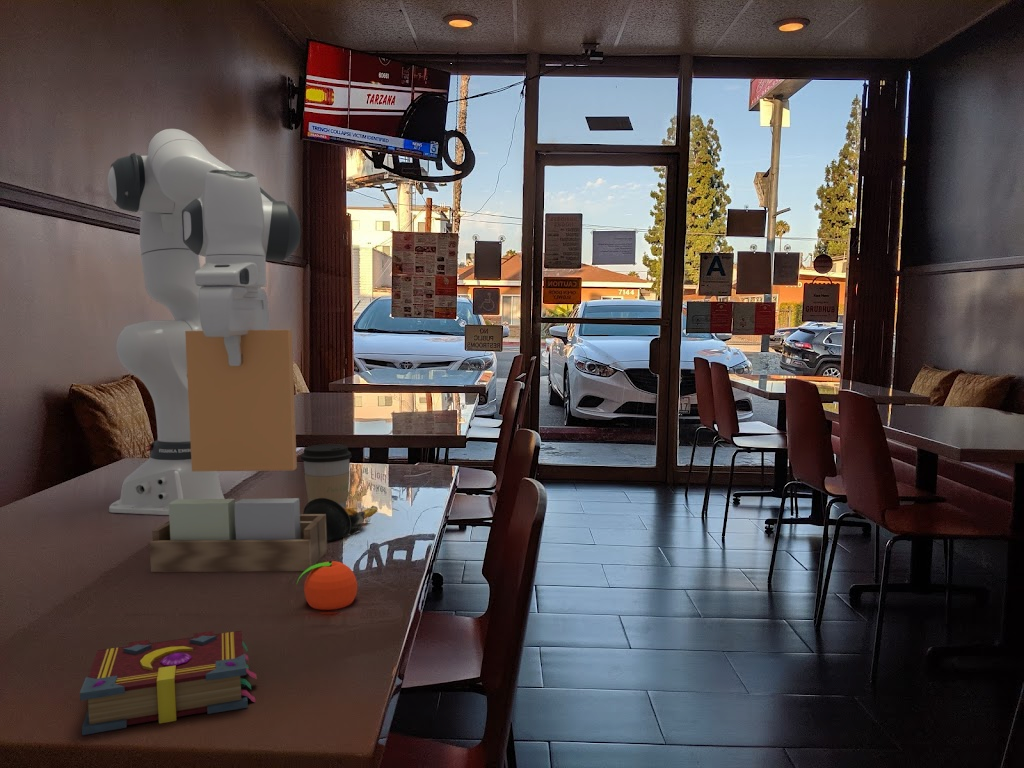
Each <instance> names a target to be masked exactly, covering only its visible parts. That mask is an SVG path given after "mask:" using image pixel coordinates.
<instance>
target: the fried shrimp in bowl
mask: <svg viewBox="0 0 1024 768" xmlns="http://www.w3.org/2000/svg"><path fill="white" fill-rule="evenodd" d="M377 512H378V507H377V506H376V505H372V506H371V507H368V508H366V509H364V510H362V511H359V512H358V511H357V510H356V509H354V507H349V508H347V507H346V508H344V507H342V506H341V505H340V504H339V503H337V502H335V501H333V500H331V499H327V498H318V499H314V500H312V501H310V502H309V503H308V502H307V504H306V505H305V506H304V509H303V513H302V514H326V531H327V543H329V542H334V541H337V540H339V539H342V538H343V537H347V536H353V535H355V534H356V533H360V532H361V530H360V528H361V526H362V525H363V523H364V521H365V519H367V518H371V517H373V515H374V514H376V513H377Z"/></svg>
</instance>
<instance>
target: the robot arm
mask: <svg viewBox="0 0 1024 768" xmlns="http://www.w3.org/2000/svg"><path fill="white" fill-rule="evenodd" d="M107 188H108V192H109V195H110V196H111V198H112V200H113V203H114V204H115V205H116V206H117V207H118V209H120V210H123V211H127V212H132V213H133V212H134V213H137V212H141V215H140V223H139V224H140V225H139V246H140V248H139V249H140V257H141V264H142V272H143V280H144V286H145V287H144V288H145V291H146V293H147V294H148V295H149V297H150V298H152V299H153V300H154V301H156V302H157V303H160V304H162V305H163V306H164V307H166V308H167V310H169V311H170V313H171V314H172V317H173V319H174V320H172V319H171V320H169V319H168V320H166V319H165V320H146V321H141V322H137V323H133V324H129V325H126V326H125V327H124V328H123V329H122V330H121V332H120V334H119V335H118V337H117V341H116V346H115V347H116V355H117V358H118V360H119V362H120V363H121V366H123V368H124V369H126V371H128V372H129V373H131V374H132V375H134V376H136V378H138V379H139V380H140V381H141V383H143V385H144V386H145V388H146V389H147V391H148V393H149V394H150V396H151V399H152V402H153V406H154V411H155V420H156V421H155V422H156V431H157V432H156V434H157V439H156V440H154V441H153V442H151V443H150V444H148V445H146V446H145V448H146V449H145V451H146V452H149V458H148V459H147V460H146V461H144V462H143V463H142V464H141V465H140V466H138V467H137V468H136V469H134V471H133V472H131V473H130V474H128V475H127V476H126V477H125V478H124V480H123V483H122V486H121V491H120V498H119V499H117V500H115V501H114V502H112V503H111V504H110V505H109V509H108V511H109V513H116V514H135V515H136V514H137V515H138V514H139V515H140V514H141V515H159V516H169V503H171V502H173V501H175V500H177V499H226V498H225V496H224V493H223V491H222V490H223V489H222V487H221V483H220V478H219V477H220V476H219V471H192V462H191V441H190V420H189V399H188V378H187V358H186V337H185V331H203V333H204V335H205V336H206V337H224V344H225V347H226V350H227V353H228V359H229V365H230V366H239V365H242V364H243V354H241V349H240V343H241V335H247V334H248V330H270V324H271V323H270V313H269V311H270V310H269V304H268V303H269V302H268V296H267V292H266V291H265V289H264V287H267V265H266V262H267V261H273V262H280V263H281V262H283V261H285V260H287V258H289V257H290V256H291V255H292V254H293V253H294V252H295V251H296V250H297V249H298V247H299V245H300V243H301V237H302V231H301V230H302V229H301V223H300V219H299V217H298V215H297V213H296V212H295V211H294V210H293V208H292V207H291V206H290V205H289V204H288V203H287V202H286V201H284V200H276V199H274V198H273V196H271V195H270V194H268V193H267V192H266V191H265V190H264V189H263V188H262V187H261V186H260V183H259V179H258V177H257V176H256V175H254V174H253V173H251V172H248V171H237V170H235V169H234V168H232V167H231V166H229V165H227V164H225V163H224V162H223V161H221V160H220V159H218V158H217V157H216V156H215V155H213V154H211V153H210V152H209V151H208V149H207V148H206V146H204V144H202V143H201V142H200V141H199V140H198V139H197V137H195V136H193V135H192V134H190V133H188V132H187V131H184V130H182V129H177V128H166V129H163V130H160V131H159V132H157V133H156V134H155V135H154V136H153V137H152V138H151V140H150V142H149V143H148V150H147V155H140V154H139V155H138V154H136V153H135V152H132V153H131V154H129V155H126V156H123V157H119V158H117V159H116V160H115V161H114V162H112V163H111V164H110V169H109V171H108V175H107ZM200 256H201V257H204V259H205V263H203V265H202V266H201V264H200Z"/></svg>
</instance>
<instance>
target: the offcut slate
mask: <svg viewBox="0 0 1024 768" xmlns="http://www.w3.org/2000/svg"><path fill="white" fill-rule="evenodd" d="M300 505H301V503H300V498H299V497H295V498H294V497H293V498H292V497H291V498H290V497H289V498H286V497H283V498H274V497H273V498H240V499H239V500H238V501H235V503H234V506H235V529H236V540H292V539H301V531H300V514H301V510H300V508H301V507H300Z"/></svg>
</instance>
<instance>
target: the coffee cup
mask: <svg viewBox="0 0 1024 768" xmlns="http://www.w3.org/2000/svg"><path fill="white" fill-rule="evenodd" d="M352 456H353V455H352V452H351V451H350V450H349V448H348V446H347V445H345V444H340V443H325V444H323V443H322V444H316V445H315V444H314V445H313V444H312V445H309V446H305V447H304V448H303V453H302V454H300V458H299V460H300V461H302V462H303V467H304V482H305V487H306V488H305V489H306V494H307V504H308V503H309V502H310V501H312V500H314V499H318V498H327V499H331V500H333V501H335V502H337V503H339V504H340V505H341V506H342V507H344V508H347V503H348V502H347V501H348V500H349V499H348V498H349V497H348V495H349V482H350V481H349V480H350V469H349V468H350V459H351V458H353V457H352Z"/></svg>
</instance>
